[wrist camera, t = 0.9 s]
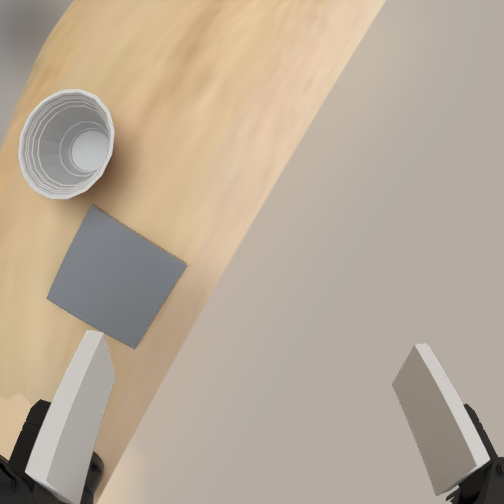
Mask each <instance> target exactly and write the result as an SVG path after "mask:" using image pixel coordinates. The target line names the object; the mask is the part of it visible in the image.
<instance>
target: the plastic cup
mask: <svg viewBox="0 0 504 504" xmlns="http://www.w3.org/2000/svg"><path fill="white" fill-rule="evenodd" d="M114 134H115V131H114V127H113V123H112V119H111V115H110V111H109V110H108V109H107V107H106V106H105V105H104V104H103V102H102V101H101V100H100V99H99V98H98V96H96V95H94V94H91V93H89V92H87V91H84V90H82V89H70V90H61V91H59V92H57V93H55V94H53V95H51V96H49V97H47V98H45V99H43V100H42V101H41V102H40V104H39V105H38V106H37V107H36V108H35V109H34V110H33V111H32V112H31V113H30V115H29V116H28V118H27V120H26V123H25V125H24V127H23V129H22V132H21V134H20V140H19V150H18V158H19V162H20V167H21V171H22V175H23V176H24V178H25V179H26V181H27V182H28V183H29V185H30V186H31V187H32V189H33V190H34V191H36V192H38V193H40V194H42V195H43V196H45V197H47V198H49V199H69V198H72V197H74V196H76V195H78V194H81V193H83V192H85V191H87V190H88V189H89V188H90V187H91V186H92V185H93V184H94V183H95V182H96V181H97V180H98V179H99V178H100V177H101V176H102V174H103V172H104V170H105V168H106V166H107V164H108V162H109V160H110V158H111V156H112V151H113V142H114Z"/></svg>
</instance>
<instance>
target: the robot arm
mask: <svg viewBox="0 0 504 504" xmlns="http://www.w3.org/2000/svg"><path fill="white" fill-rule="evenodd" d="M115 379H116V374H115V371H114V368H113V364H112V361H111V358H110V354H109V350H108V347H107V343H106V339H105V335H104V332H98V331H92V330H87V331H86V333H85V335H84V337H83V339H82V341H81V342H80V344H79V346H78V348H77V350H76V352H75V354H74V356H73V358H72V360H71V362H70V364H69V366H68V368H67V370H66V373H65V375H64V377H63V379H62V381H61V383H60V385H59V387H58V390H57V392H56V394H55V396H54V399H53V401H52V403H50V402H47V401H44V400H41V399H40V400H39V401H38V402H37V403H36V404H35V405H34V406H33V407H32V408H31V409H30V412H29V414H28V416H27V418H26V422H25V423H24V425H23V428H22V431H21V432H20V435H19V437H18V439H17V442H16V444H15V447H14V450H13V452H12V455H11V457H10V460H9V461H8V460H7V459H5V458H4V457H3V456H1V455H0V504H93V503H94V502H93V500H94V493H95V491H96V489H97V487H98V485H99V483H100V481H101V479H102V477H103V463H102V461H101V459H100V458H99V457H98V455H97V454H96V453H94V452H93V450H94V446H95V442H96V439H97V436H98V432H99V429H100V425H101V422H102V419H103V416H104V412H105V409H106V406H107V403H108V400H109V397H110V394H111V391H112V388H113V385H114V382H115ZM392 386H393V388H394V390H395V392H396V395H397V397H398V399H399V401H400V404H401V406H402V409H403V411H404V414H405V416H406V418H407V421H408V423H409V426H410V428H411V431H412V433H413V436H414V438H415V441H416V443H417V446H418V448H419V451H420V453H421V456H422V458H423V461H424V464H425V466H426V469H427V472H428V475H429V477H430V480H431V483H432V486H433V489H434V492H435V495H436V496H438V495H440V494H442V493H445V492H448V491H450V490H451V489H453V488H454V487H455V486H457V485H459V488H458V489H457V490H456V491H454V492H453V493H451V494H450V495H449V496H447V498H446V501H448V500H449V499H451V498H452V497H454V498H453V499H452V500H451V501H450V502H452V504H504V457H498V456H497V454H496V452H495V450H494V448H493V446H492V444H491V442H490V440H489V438H488V436H487V434H486V432H485V430H483V426H482V424H481V423H480V422H479V419H478V417H477V415H476V413H475V411H474V410H473V409H472V408H471V407H470V406H469V405H468V404H465V405H463V404H462V402H461V400H460V399H459V397H458V395H457V393H456V392H455V390H454V388H453V386H452V384H451V383H450V381H449V379H448V378H447V376H446V374H445V372H444V371H443V369H442V367H441V366H440V364H439V362H438V361H437V359H436V357H435V356H434V354H433V352H432V351H431V349H430V348H429V346H428V344H427V343H425V344H415V345H414V346H413V348H412V350H411V352H410V353H409V355H408V357H407V359H406V361H405V363H404V364H403V366H402V368H401V369H400V371H399V373H398V375H397V377H396V378H395V380H394V381H393V383H392Z"/></svg>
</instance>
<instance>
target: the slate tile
mask: <svg viewBox="0 0 504 504" xmlns="http://www.w3.org/2000/svg"><path fill="white" fill-rule="evenodd" d="M186 267H187V263H185V262H184V261H182V260H180V259H179V258H177V257H176V256H174V255H172V254H171V253H169V252H167V251H166V250H164V249H163V248H161V247H159V246H158V245H156V244H154V243H153V242H151V241H150V240H148V239H146V238H145V237H143V236H142V235H140V234H139V233H137V232H135V231H134V230H132V229H131V228H129V227H127V226H126V225H124V224H123V223H121V222H120V221H118V220H117V219H115V218H113V217H112V216H110V215H109V214H107V213H106V212H104V211H103V210H101V209H100V208H98V207H97V206H95V205H92V206H91V208H90V209H89V211H88V213H87V215H86V217H85V218H84V220H83V222H82V224H81V226H80V228H79V230H78V232H77V233H76V235H75V237H74V239H73V241H72V243H71V245H70V247H69V249H68V251H67V253H66V256H65V258H64V260H63V262H62V264H61V266H60V268H59V271H58V273H57V275H56V277H55V280H54V282H53V284H52V286H51V289H50V291H49V294H48V296H47V298H46V299H48V300H49V301H51V302H52V303H54V304H56V305H57V306H59V307H60V308H62V309H64V310H65V311H67V312H68V313H70V314H72V315H73V316H75V317H77V318H78V319H80V320H82V321H84V322H85V323H87V324H89V325H91V326H92V327H94V328H96V329H98V330H99V331H101V332H104V333H105V334H107V335H108V336H110V337H112V338H114V339H116V340H118V341H120V342H122V343H124V344H126V345H127V346H129V347H131V348H133V349H135V348H136V347H137V345H138V343H139V342H140V340H141V338H142V337H143V335H144V333H145V332H146V330H147V328H148V327H149V325H150V324H151V322H152V320H153V319H154V317H155V315H156V314H157V312H158V311H159V309H160V307H161V306H162V304H163V303H164V301H165V299H166V298H167V296H168V295H169V293H170V292H171V290H172V288H173V287H174V285H175V284H176V282H177V281H178V279H179V277H180V276H181V274H182V273H183V271H184V270H185V268H186Z"/></svg>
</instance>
